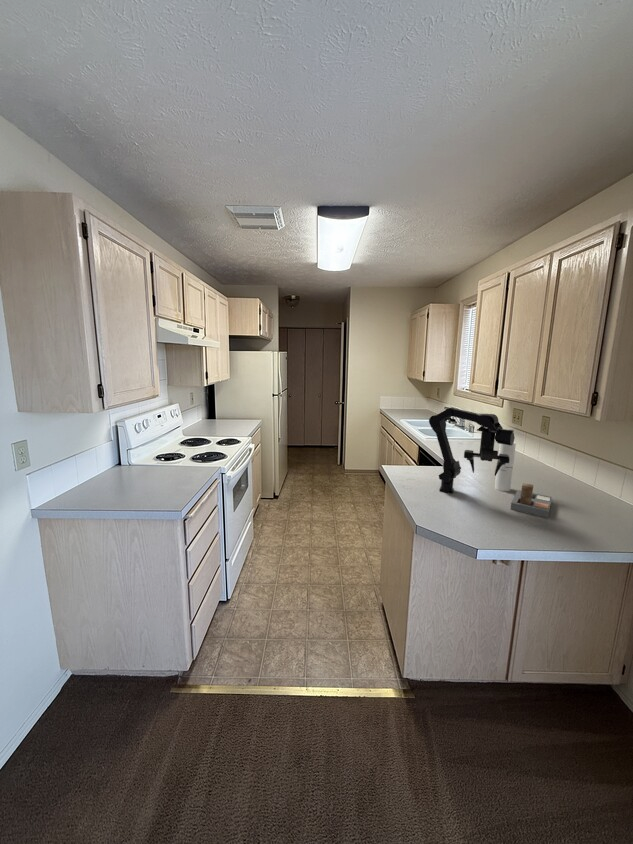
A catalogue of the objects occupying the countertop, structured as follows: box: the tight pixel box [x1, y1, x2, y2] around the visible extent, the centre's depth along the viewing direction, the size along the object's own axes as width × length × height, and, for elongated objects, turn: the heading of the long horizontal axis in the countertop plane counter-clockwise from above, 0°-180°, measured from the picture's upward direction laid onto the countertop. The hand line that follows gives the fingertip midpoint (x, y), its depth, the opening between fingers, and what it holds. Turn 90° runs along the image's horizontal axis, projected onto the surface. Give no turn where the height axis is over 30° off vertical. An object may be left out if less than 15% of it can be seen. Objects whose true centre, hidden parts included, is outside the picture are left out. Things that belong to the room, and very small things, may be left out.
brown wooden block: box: [520, 482, 534, 506], centre depth 155 cm, size 4×4×11 cm
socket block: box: [510, 489, 553, 519], centre depth 159 cm, size 14×20×3 cm
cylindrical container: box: [494, 441, 517, 492], centre depth 178 cm, size 7×7×25 cm
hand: (484, 474), depth 162 cm, fingers open, 9 cm apart
